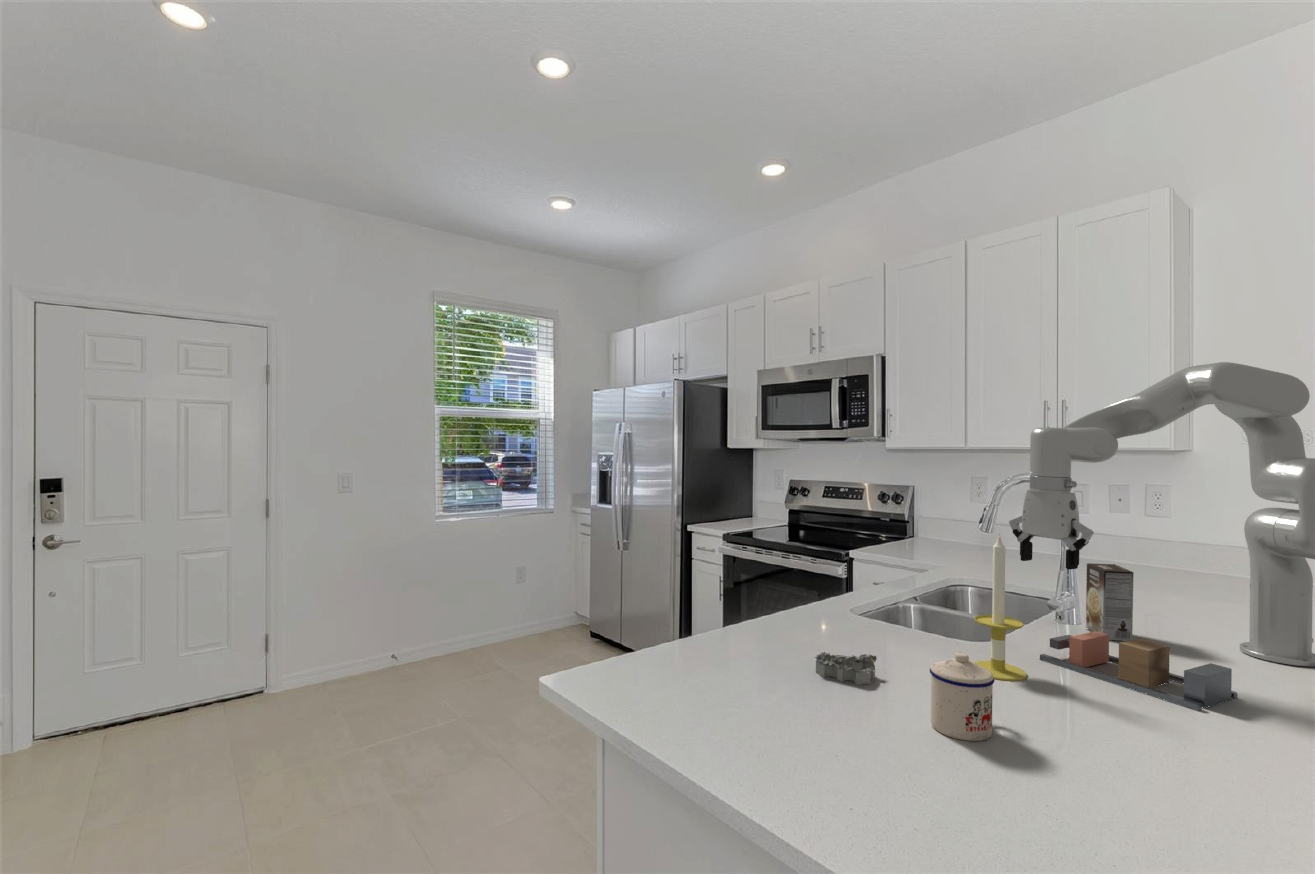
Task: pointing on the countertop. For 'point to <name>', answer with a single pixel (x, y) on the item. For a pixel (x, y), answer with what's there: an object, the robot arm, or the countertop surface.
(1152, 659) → the block
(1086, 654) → the block
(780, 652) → the countertop surface
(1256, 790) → the countertop surface
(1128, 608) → the coffee box
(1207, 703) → the vise bed
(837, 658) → the egg carton
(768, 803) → the countertop surface
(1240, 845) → the countertop surface
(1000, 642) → the candle
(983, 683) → the teacup with lid
